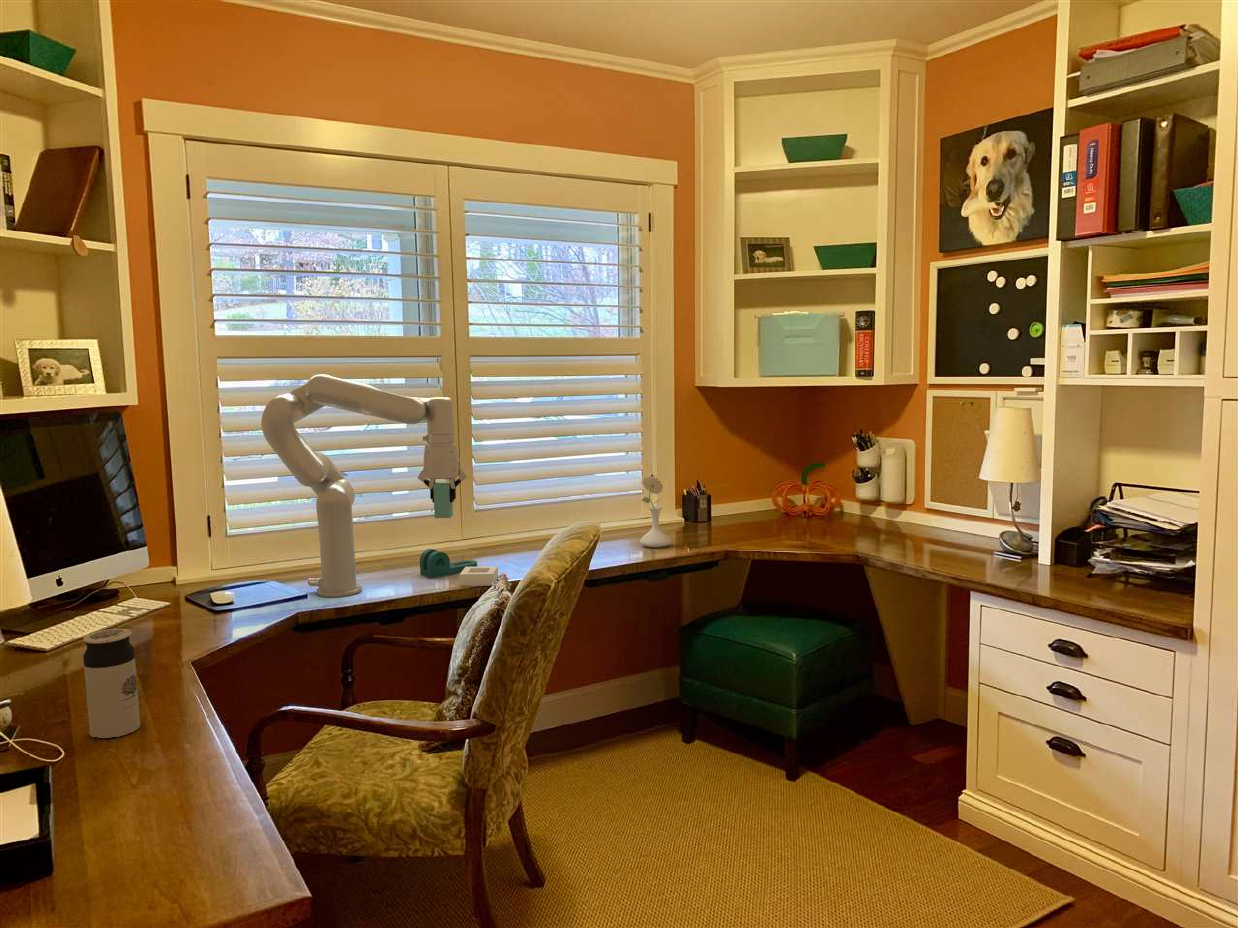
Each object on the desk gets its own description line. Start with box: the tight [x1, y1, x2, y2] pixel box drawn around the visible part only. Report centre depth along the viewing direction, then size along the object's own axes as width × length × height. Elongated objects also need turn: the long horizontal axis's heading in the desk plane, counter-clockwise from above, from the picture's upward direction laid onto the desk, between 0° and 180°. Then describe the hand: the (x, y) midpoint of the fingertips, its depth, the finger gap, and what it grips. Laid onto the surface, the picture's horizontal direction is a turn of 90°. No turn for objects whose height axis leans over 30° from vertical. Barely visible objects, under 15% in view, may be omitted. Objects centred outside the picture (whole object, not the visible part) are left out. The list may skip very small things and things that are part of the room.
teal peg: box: [433, 481, 454, 519], centre depth 264 cm, size 4×4×10 cm
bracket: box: [419, 548, 478, 579], centre depth 284 cm, size 18×7×8 cm, turn 130°
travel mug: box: [82, 628, 141, 739], centre depth 162 cm, size 8×8×18 cm
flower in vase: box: [639, 475, 673, 548], centre depth 317 cm, size 13×11×25 cm
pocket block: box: [459, 565, 499, 587], centre depth 270 cm, size 10×10×4 cm
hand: (443, 501), depth 264 cm, fingers closed on teal peg, 4 cm apart
